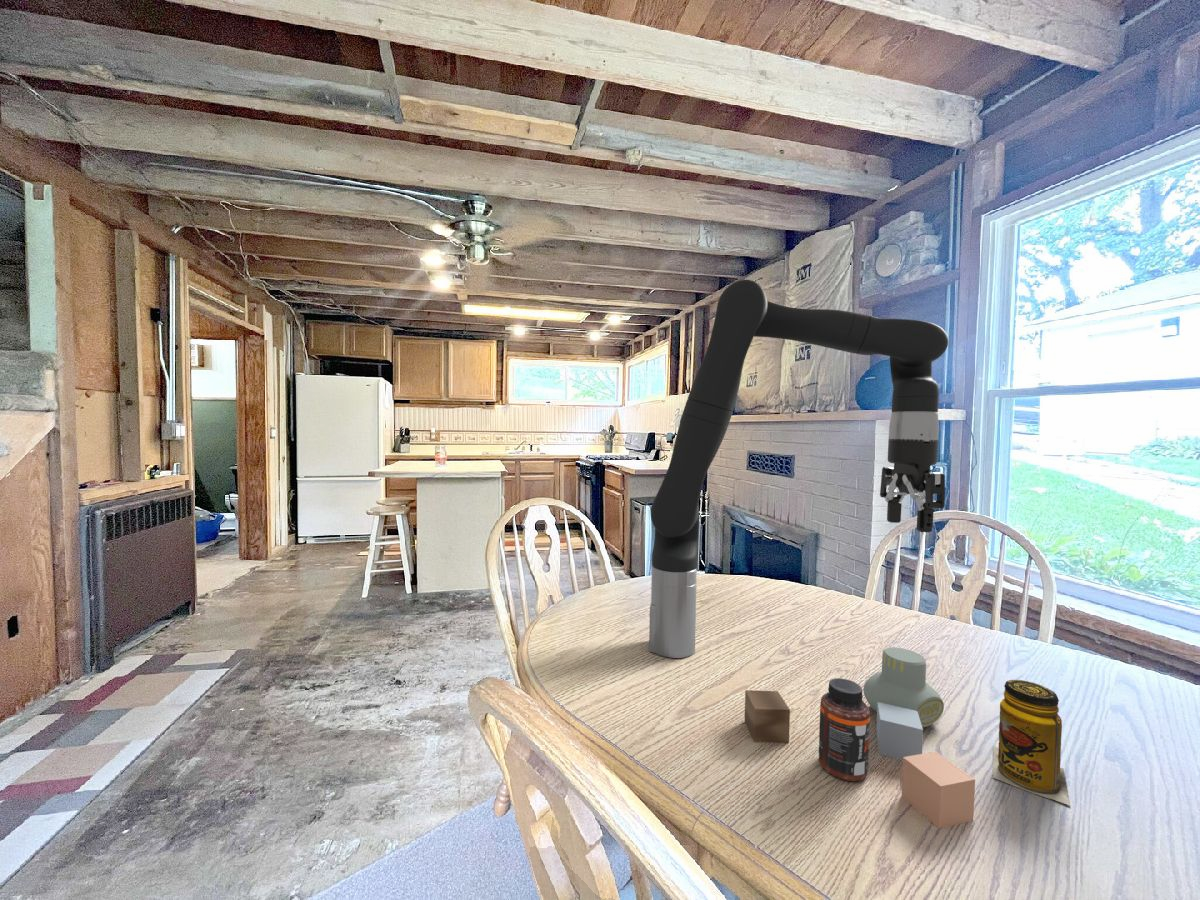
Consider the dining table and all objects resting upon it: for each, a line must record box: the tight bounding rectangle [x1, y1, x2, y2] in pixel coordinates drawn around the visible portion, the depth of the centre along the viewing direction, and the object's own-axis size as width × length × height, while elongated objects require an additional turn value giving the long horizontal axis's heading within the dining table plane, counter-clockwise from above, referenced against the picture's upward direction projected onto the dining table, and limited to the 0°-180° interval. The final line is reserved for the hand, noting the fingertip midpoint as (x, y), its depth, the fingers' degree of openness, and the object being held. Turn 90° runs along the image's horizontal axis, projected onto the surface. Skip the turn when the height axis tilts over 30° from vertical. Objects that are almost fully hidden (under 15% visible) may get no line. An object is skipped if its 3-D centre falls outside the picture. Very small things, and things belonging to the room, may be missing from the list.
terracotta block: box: [901, 751, 976, 829], centre depth 57 cm, size 5×5×5 cm
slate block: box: [875, 702, 924, 761], centre depth 68 cm, size 5×5×5 cm
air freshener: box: [862, 646, 945, 728], centre depth 76 cm, size 11×8×10 cm
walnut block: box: [744, 689, 791, 744], centre depth 71 cm, size 5×5×5 cm
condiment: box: [992, 679, 1071, 807], centre depth 63 cm, size 7×8×12 cm
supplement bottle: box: [818, 677, 871, 782], centre depth 64 cm, size 6×6×11 cm
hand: (908, 526), depth 87 cm, fingers open, 8 cm apart
